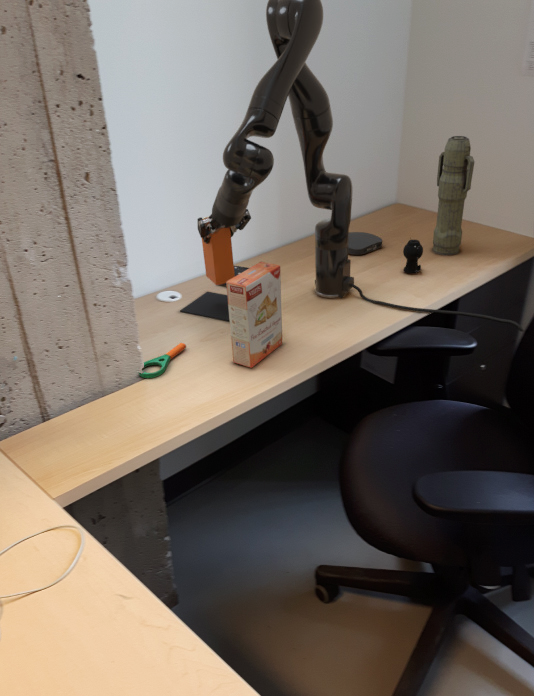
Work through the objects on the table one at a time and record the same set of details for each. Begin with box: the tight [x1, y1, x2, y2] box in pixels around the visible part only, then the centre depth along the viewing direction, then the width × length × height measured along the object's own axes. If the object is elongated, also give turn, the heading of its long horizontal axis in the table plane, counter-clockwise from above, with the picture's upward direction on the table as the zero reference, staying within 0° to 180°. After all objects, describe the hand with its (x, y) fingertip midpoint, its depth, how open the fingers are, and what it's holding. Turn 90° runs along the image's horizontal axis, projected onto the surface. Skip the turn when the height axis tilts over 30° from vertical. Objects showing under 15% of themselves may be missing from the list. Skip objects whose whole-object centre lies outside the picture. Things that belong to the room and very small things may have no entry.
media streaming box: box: [348, 231, 383, 256], centre depth 203 cm, size 15×15×3 cm
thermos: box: [432, 135, 475, 256], centre depth 187 cm, size 9×12×35 cm
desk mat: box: [179, 291, 230, 323], centre depth 167 cm, size 20×14×1 cm
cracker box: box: [226, 261, 283, 369], centre depth 139 cm, size 14×6×21 cm, turn 148°
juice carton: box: [201, 215, 235, 286], centre depth 158 cm, size 17×6×8 cm
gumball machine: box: [402, 237, 424, 275], centre depth 180 cm, size 7×6×10 cm
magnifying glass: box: [138, 342, 187, 379], centre depth 142 cm, size 15×6×2 cm, turn 150°
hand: (217, 238), depth 156 cm, fingers closed on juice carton, 5 cm apart
